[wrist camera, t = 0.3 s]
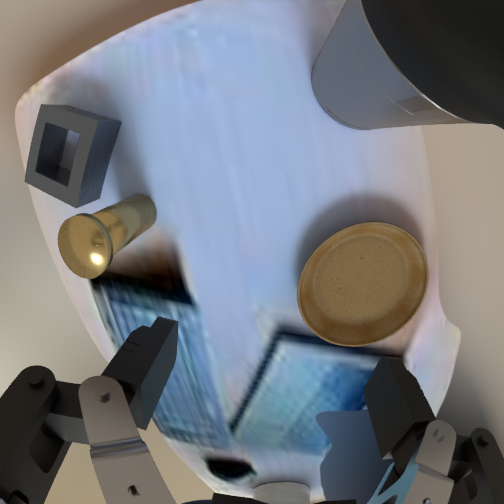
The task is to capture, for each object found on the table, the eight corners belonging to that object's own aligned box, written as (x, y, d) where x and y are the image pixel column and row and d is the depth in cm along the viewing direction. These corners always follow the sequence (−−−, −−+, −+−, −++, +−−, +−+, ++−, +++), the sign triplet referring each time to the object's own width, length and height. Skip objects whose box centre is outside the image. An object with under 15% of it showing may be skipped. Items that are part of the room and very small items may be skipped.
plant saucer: (335, 352, 34) (338, 365, 32) (268, 265, 30) (268, 276, 28) (434, 291, 30) (443, 302, 28) (386, 188, 26) (396, 192, 24)
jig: (65, 105, 25) (41, 104, 21) (121, 122, 26) (98, 120, 21) (48, 175, 28) (24, 181, 24) (99, 198, 29) (76, 208, 25)
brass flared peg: (127, 182, 28) (61, 207, 18) (166, 199, 28) (112, 232, 18) (116, 224, 30) (55, 262, 20) (153, 241, 30) (101, 288, 20)
